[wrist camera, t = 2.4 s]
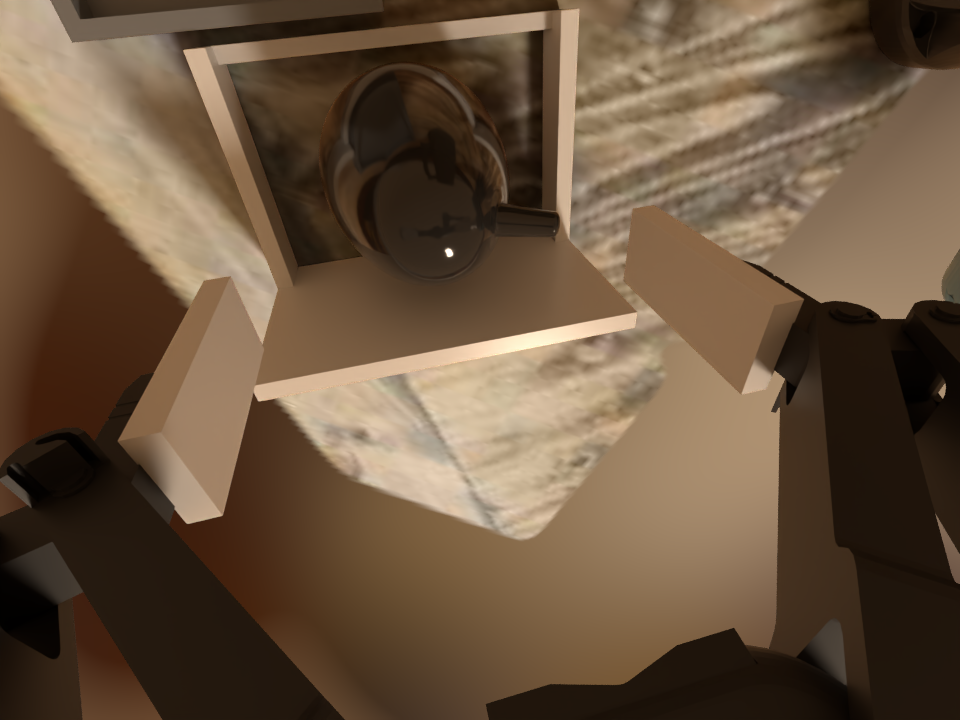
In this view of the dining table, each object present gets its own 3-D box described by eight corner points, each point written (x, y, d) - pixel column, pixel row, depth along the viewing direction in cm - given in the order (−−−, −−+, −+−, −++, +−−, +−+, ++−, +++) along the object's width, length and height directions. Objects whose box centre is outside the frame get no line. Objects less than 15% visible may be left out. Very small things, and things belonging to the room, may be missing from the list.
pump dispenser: (485, 224, 33) (556, 339, 22) (338, 232, 32) (327, 364, 20) (489, 57, 27) (593, 90, 15) (307, 55, 25) (266, 90, 14)
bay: (559, 9, 27) (685, 6, 16) (554, 237, 35) (634, 327, 25) (199, 46, 24) (87, 69, 14) (288, 282, 33) (258, 401, 23)
